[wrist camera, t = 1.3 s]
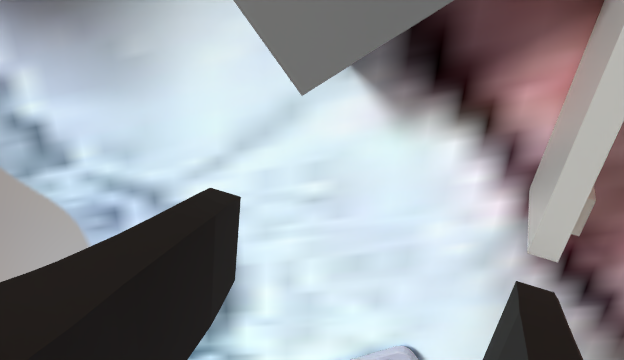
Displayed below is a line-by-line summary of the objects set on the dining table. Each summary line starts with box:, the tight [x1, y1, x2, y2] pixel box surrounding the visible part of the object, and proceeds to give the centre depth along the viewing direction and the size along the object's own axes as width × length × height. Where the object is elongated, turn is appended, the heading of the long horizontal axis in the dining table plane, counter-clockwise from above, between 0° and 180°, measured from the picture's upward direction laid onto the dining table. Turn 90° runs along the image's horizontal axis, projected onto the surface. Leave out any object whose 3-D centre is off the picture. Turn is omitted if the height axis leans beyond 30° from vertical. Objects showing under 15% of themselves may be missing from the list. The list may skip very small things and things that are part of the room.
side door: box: [527, 0, 624, 262], centre depth 15 cm, size 10×1×3 cm, turn 173°
